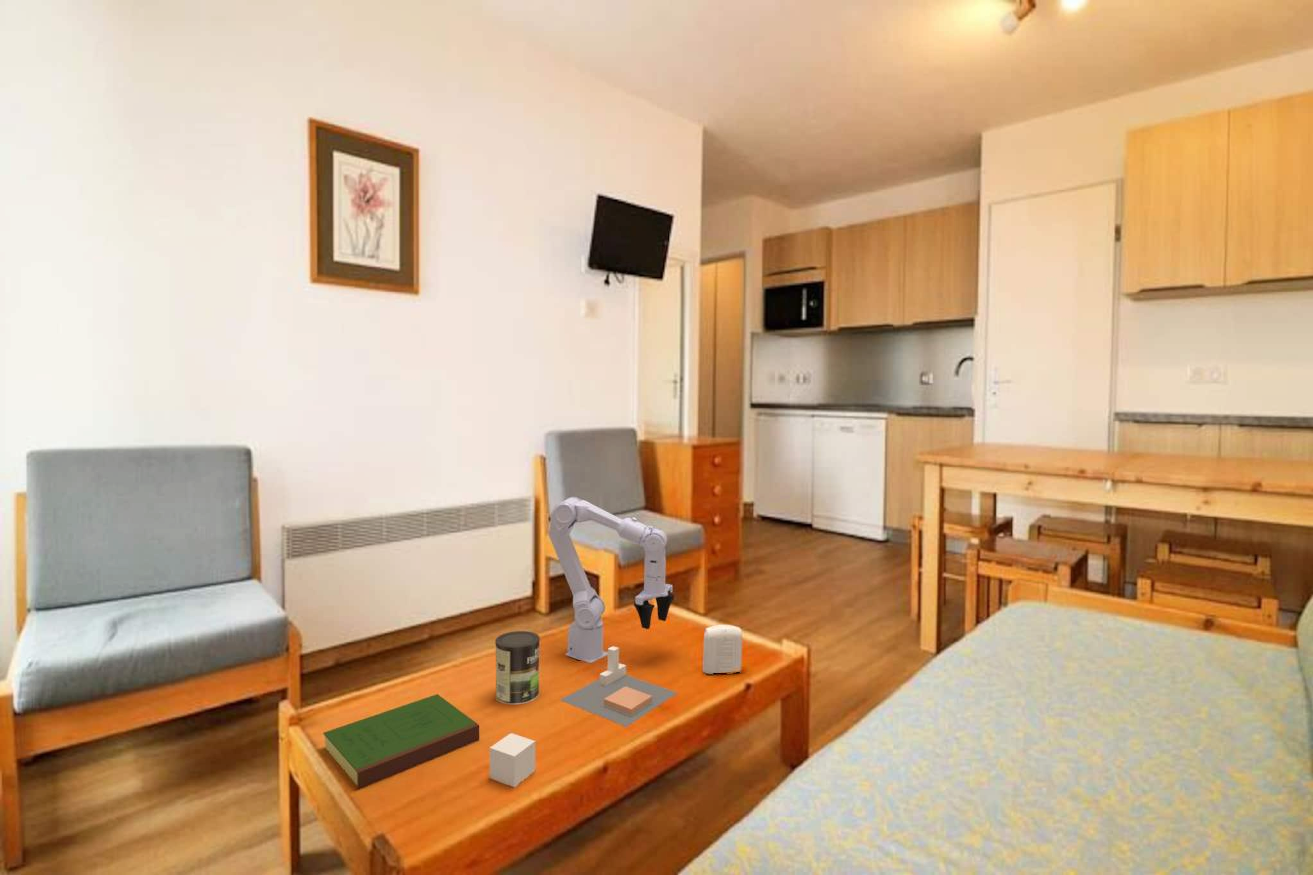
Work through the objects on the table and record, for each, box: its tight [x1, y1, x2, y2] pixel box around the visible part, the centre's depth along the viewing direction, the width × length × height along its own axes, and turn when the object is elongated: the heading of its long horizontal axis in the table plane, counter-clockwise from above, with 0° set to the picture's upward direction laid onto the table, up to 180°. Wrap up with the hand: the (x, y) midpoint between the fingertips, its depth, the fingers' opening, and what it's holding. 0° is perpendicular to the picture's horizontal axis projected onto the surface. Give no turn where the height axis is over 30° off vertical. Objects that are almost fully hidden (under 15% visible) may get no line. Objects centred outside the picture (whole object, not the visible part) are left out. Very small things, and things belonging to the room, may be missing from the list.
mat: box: [559, 674, 678, 728], centre depth 152 cm, size 20×20×1 cm
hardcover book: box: [323, 693, 480, 790], centre depth 131 cm, size 25×19×4 cm
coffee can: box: [494, 630, 541, 705], centre depth 152 cm, size 10×10×14 cm
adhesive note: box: [489, 733, 536, 788], centre depth 121 cm, size 6×6×6 cm
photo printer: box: [702, 624, 743, 675], centre depth 167 cm, size 10×4×12 cm, turn 98°
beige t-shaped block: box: [599, 646, 627, 686], centre depth 161 cm, size 2×8×8 cm, turn 144°
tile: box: [604, 686, 652, 716], centre depth 148 cm, size 2×8×8 cm
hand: (654, 623), depth 173 cm, fingers open, 7 cm apart
